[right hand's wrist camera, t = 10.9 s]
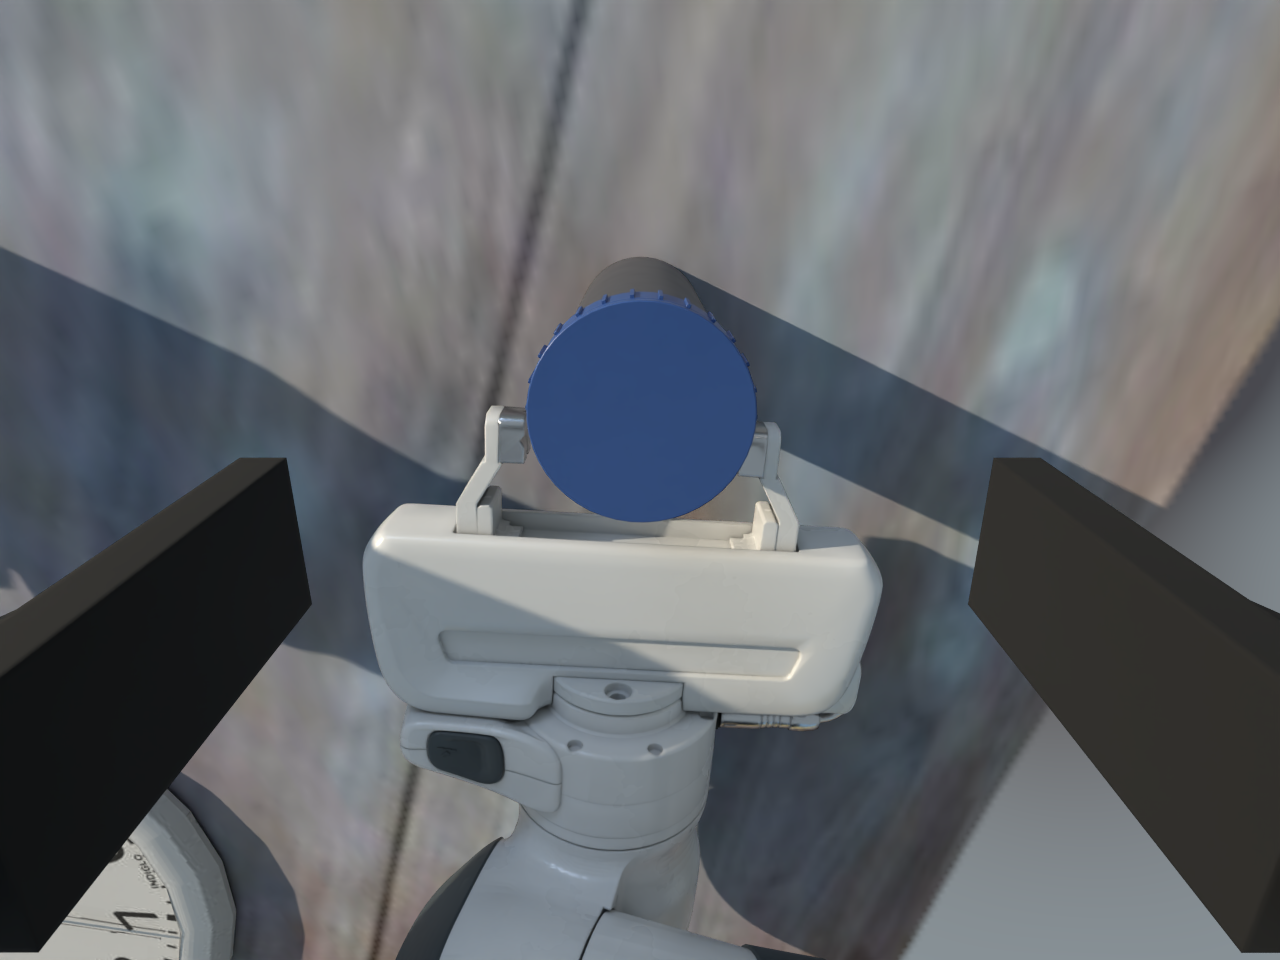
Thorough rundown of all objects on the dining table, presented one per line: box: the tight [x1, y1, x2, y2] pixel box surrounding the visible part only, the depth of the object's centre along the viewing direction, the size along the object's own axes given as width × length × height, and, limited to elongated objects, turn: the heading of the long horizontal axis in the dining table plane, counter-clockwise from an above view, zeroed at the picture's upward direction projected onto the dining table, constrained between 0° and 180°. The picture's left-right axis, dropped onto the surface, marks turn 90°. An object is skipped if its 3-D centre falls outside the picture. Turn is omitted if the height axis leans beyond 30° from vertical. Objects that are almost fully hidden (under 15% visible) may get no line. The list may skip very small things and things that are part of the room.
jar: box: [575, 257, 706, 314], centre depth 27 cm, size 5×5×15 cm
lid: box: [525, 289, 757, 523], centre depth 20 cm, size 6×6×2 cm
